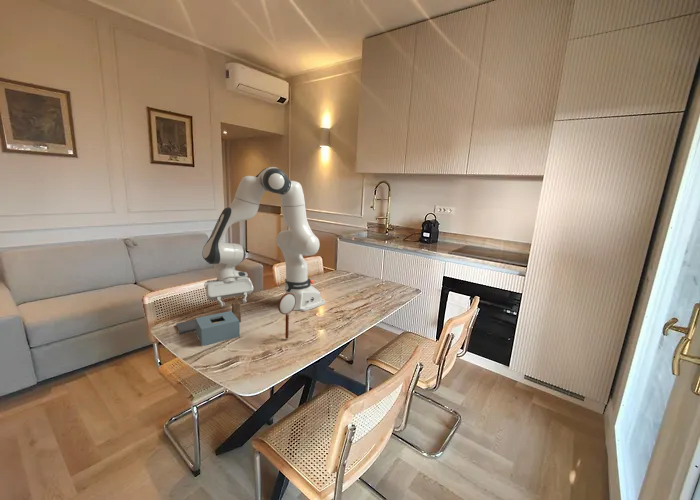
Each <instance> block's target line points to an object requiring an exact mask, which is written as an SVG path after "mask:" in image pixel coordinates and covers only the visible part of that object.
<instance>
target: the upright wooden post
mask: <svg viewBox="0 0 700 500" xmlns="http://www.w3.org/2000/svg"><path fill="white" fill-rule="evenodd" d="M230 304H231V311H232V313H233V314H234V315H235V316H236V317H237V318H238V320H239V323H242V317H241V315H242V312H241V308H242V307H241V302H240V301H239V300H238V301H237V300H236V301H232V302H231V303H230Z"/></svg>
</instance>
